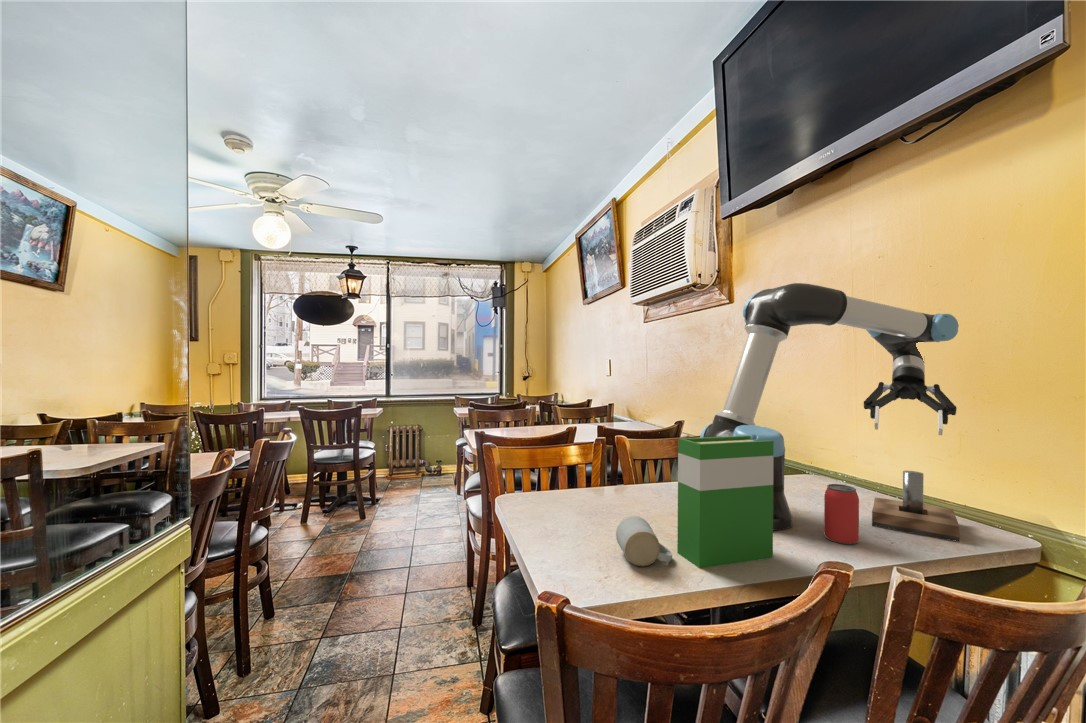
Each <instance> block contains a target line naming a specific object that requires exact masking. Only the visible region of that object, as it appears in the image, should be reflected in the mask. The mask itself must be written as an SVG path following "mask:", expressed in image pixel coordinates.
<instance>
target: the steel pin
mask: <svg viewBox="0 0 1086 723" xmlns="http://www.w3.org/2000/svg"><path fill="white" fill-rule="evenodd" d="M902 501H903V512H909V513H915V514H922V515H923V505H924V473H923V472H920V471H915V470H903V471H902Z"/></svg>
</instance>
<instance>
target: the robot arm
mask: <svg viewBox="0 0 1086 723" xmlns="http://www.w3.org/2000/svg"><path fill="white" fill-rule="evenodd" d="M742 317H743V318H744V323H745V325H744V330H745V332H746V333H747V337H746V339H745V342H744V346H743V349H742V352H741V355H740V357H739V361H738V364H737V366H736V369H735V372H734V376H733V378H732V381H731V384H730V387H729V391H728V393H727V396H726V400H725V402H724V404H723V408H722V410H721V411H719V412H716V413H715V415H714V418H713V420H712V423H710V424H708V425H706V426H705V427H704V428H703V429H702V431H701V433H700V436H699V438H703V437H727V436H751V440H753V441H766V440H771V441H774V443H773V531H781V530H786V529H789V528H791V527H792V526H793V516H792V515H793V514H792V512H791V510H790V506H789V504H788V501H787V500H788V499H787V497H786V495H785V465H786V464H785V462H786V461H785V457H786V456H785V455H786V447H785V438H784V435H782V433H781V432H780V431H778V430H776V429H773V428H770V427H767V426H759V425H756V423H755V417H756V413H757V410H758V408H759V405H760V402H761V399H762V396H763V392H764V390H765V387H766V384H767V380H768V378H769V375H770V372H771V369H772V365H773V362H774V359H775V356H776V354H777V350H778V347H779V344H780V343H781V342H783V341H785V340H787V339H788V336H789V332H790V331H791V327H797V326H803V325H804V326H805V325H822V326H823V325H824V326H829V327H830V326H834V325H836V324H837V325H842V326H847V327H853V328H856V329H857V328H858V329H862V330H865V331H866V332H867V333H868V334H869V335H870V337H871V338H873V339H874V340H875V341H876V342H877V343H878V344H879V345H880V346H882V347H883V349H885V350H886V351H887V352H888V353H889V354H890V355H891V356H892V375H891V384H884V382H883V381H879V383H878V385H877V388H875V389H874V390H873V392H871V393H870V395H868V397H866V399H865V400H864V401H863V409H864V410H870V416H869V417H870V419H872V420H874V430H879V419H880V409H881V408H884V406H886V405H888V404H890V403H891V402H892V401H894V402H895V401H896V400H898V399H901V400H912V401H915V400H918V401H919V402H920V403H923V404H925V405H926V406H928V407H929V408H931V409H932V410H933V411H934V412H936V413H937V429H938V430H937V431H938V434H937V435H938V436H943V430H944V427H943V426H944V425H948V424H949V422H948V421H949V415H951V416H956V414H957V410H958V409H957V406H956V405H955V404H954V402H952V400H950V398H948V397H947V396H946V394H945V393H944V392H943V391H942V390H941V386H940V385H939V383H934V384H933V385H932V386H931V385H930V386H929V385H928V386H927V385H926V377H925V376H926V375H925V373H926V371H925V369H926V368H925V367H926V366H925V365H924V364H925V360H924V361H923V358H922V356H921V354H920V352H919V351H918V349H917V347H916V343H918V342H924V343H940V342H947V341H951V340H953V339H955V337H956V336H957V335H958V333H959V323H958V322H959V321H958V320H957V318H956V317H955V316H954V315H952V314H951V313H936V314H930V313H929V314H928V313H924V312H919V311H914V310H911V309H905V308H901V307H896V306H893V305H888V304H884V303H880V302H875V301H871V300H867V299H866V300H865V299H861V298H856V297H852V296H848V295H847V294H846V293H845V292H844V291H842V290H839V289H835V288H831V287H827V286H822V285H816V284H811V283H801V282H798V283H797V282H793V283H789V284H786V285H785V284H784V285H782V286H781V285H780V286H778V287H774V288H766V289H762V290H760V291H758V292H756V293H754V294H752V295H751V296H749V297H748V299H747V300H746V302H745V303H744V306H743V310H742ZM888 390H889V392H888V393H886V392H887V391H888ZM927 392H929V393H930V394H931V395H932V396H934V398H933V397H932V396H931V395H929V394H928V393H927ZM883 393H885V395H883ZM882 395H883V396H882Z"/></svg>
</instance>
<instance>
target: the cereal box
mask: <svg viewBox="0 0 1086 723" xmlns="http://www.w3.org/2000/svg"><path fill="white" fill-rule="evenodd" d="M677 443H678V444H677V445H678V446H677V546H676V547H677V551H676V552H677V554H678V555H679V556H681V557H682V558H683V559H685V560H687V562H690V563H691V564H693V565H694V566H695V567H697V568H698V569H703V568H711V567H719V566H725V565H731V564H733V565H734V564H738V563H746V562H747V563H748V562H752V561H761V560H768V559H773V558H774V530H773V443H774V441H771V440H766V441H753V440H751V436H727V437H703V438H700V437H686V438H685V437H683V438H681V437H680V438H678V439H677Z"/></svg>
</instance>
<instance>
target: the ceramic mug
mask: <svg viewBox="0 0 1086 723" xmlns="http://www.w3.org/2000/svg"><path fill="white" fill-rule="evenodd" d="M615 537H616V538H615V539H616V542H617V544H618V546H619V548H620V550H621V551H622V552H623V555H624V556H625V558H626V559H627V560H628V561H629V563H632V564H633V565H635V566H636V567H646V566H649V565H652V564H653V563H655V561H657V560H658V561H661V562H662V563H670V562H671V560H672V558H673V553H672V551H671V550H670V549H668V548H667V547H666V546H664V545H663V544H662V543H660V542H659V539H658V537H657V535H656V534H655V532H654V531H653V528H652V527H651V525H650V524H649V523H648V521H647V520H646V519H644V518H642V517H640V516H637V515H631V516H627V517H624V518H623V519H622V520H621V521H620V522H619V524H618V525H617V528H616V531H615Z"/></svg>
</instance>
